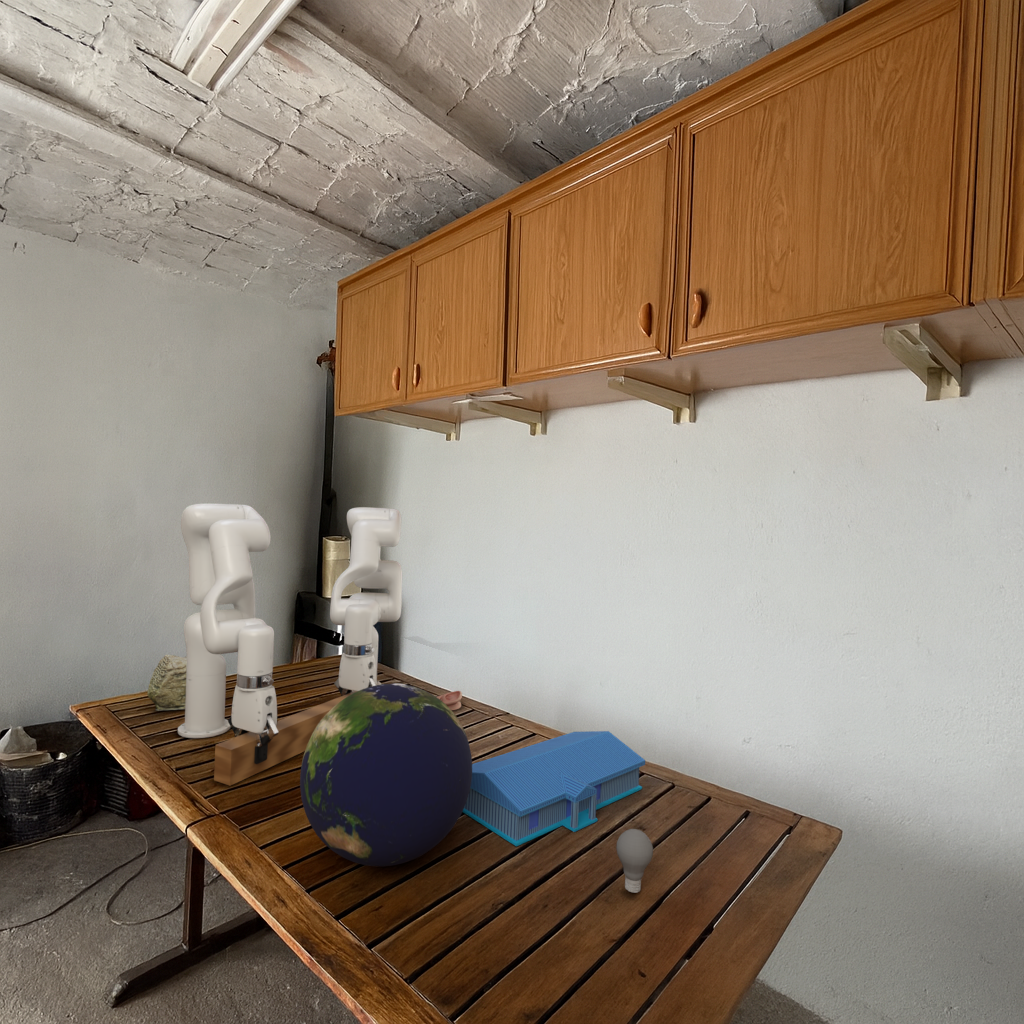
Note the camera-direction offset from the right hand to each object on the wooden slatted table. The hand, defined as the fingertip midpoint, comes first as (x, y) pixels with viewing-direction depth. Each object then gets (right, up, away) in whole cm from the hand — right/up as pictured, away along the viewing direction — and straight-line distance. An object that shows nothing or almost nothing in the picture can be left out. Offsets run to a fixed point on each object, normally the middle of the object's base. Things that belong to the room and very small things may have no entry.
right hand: (355, 713), depth 177 cm
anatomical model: (+21, -4, +18) cm, 28 cm away
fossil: (-52, -1, +8) cm, 53 cm away
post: (-8, -3, -16) cm, 18 cm away
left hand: (-16, 0, -32) cm, 36 cm away
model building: (+53, -6, -39) cm, 66 cm away
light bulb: (+64, -7, -71) cm, 96 cm away
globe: (+21, -5, -64) cm, 67 cm away
